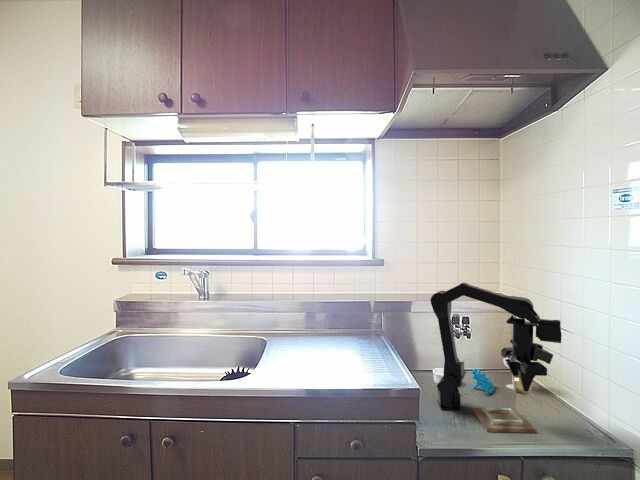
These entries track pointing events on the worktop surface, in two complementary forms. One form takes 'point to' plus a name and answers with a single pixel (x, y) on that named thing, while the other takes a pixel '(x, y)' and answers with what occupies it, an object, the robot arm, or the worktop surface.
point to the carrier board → (502, 420)
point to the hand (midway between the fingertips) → (522, 387)
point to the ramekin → (438, 374)
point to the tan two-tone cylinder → (520, 386)
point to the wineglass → (512, 375)
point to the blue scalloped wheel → (482, 381)
